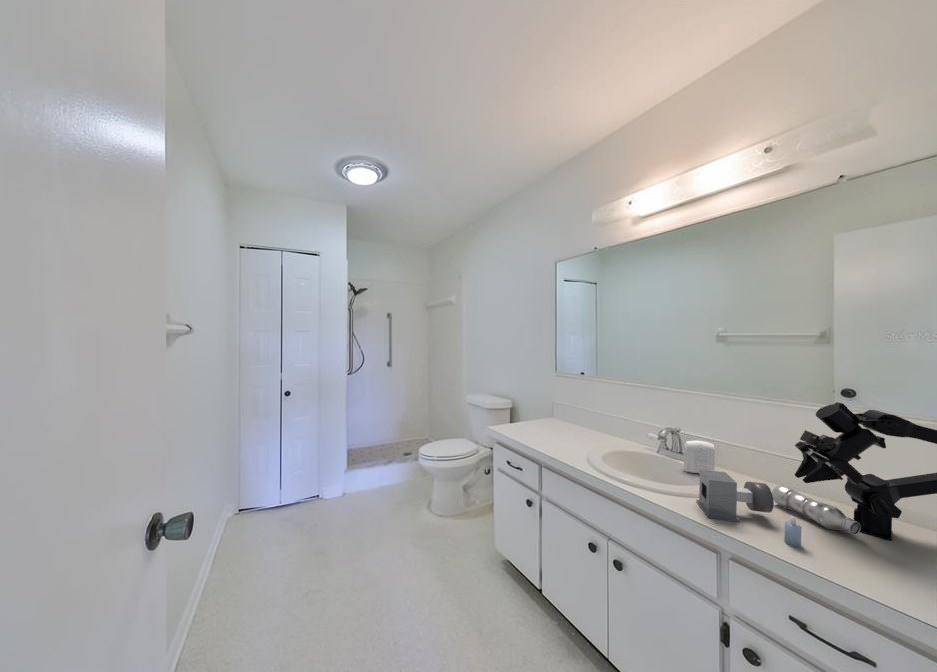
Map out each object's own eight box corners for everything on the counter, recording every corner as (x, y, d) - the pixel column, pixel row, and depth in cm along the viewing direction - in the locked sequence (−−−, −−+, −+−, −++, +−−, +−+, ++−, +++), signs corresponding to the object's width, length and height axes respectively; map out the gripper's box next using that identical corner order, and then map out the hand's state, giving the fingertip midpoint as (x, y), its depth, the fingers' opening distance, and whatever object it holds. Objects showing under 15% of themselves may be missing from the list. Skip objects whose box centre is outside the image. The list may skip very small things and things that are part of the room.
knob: (759, 504, 107) (759, 478, 107) (773, 518, 100) (774, 490, 100) (710, 498, 111) (710, 473, 111) (720, 511, 103) (720, 484, 103)
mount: (725, 505, 111) (725, 471, 111) (739, 522, 101) (740, 484, 101) (696, 502, 113) (696, 468, 113) (708, 517, 103) (708, 481, 103)
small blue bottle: (802, 544, 91) (802, 517, 91) (799, 549, 89) (800, 521, 89) (785, 538, 93) (786, 512, 93) (783, 543, 91) (783, 516, 91)
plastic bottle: (786, 499, 113) (866, 535, 94) (769, 505, 112) (847, 543, 93) (783, 480, 113) (863, 512, 93) (766, 486, 112) (843, 521, 92)
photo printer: (712, 471, 137) (712, 440, 137) (716, 476, 133) (716, 444, 133) (682, 468, 140) (682, 438, 140) (685, 472, 136) (685, 441, 136)
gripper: (803, 415, 108) (760, 447, 112) (849, 432, 90) (796, 469, 94) (834, 442, 106) (789, 474, 110) (887, 465, 88) (832, 502, 92)
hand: (799, 479), depth 101 cm, fingers open, 3 cm apart
